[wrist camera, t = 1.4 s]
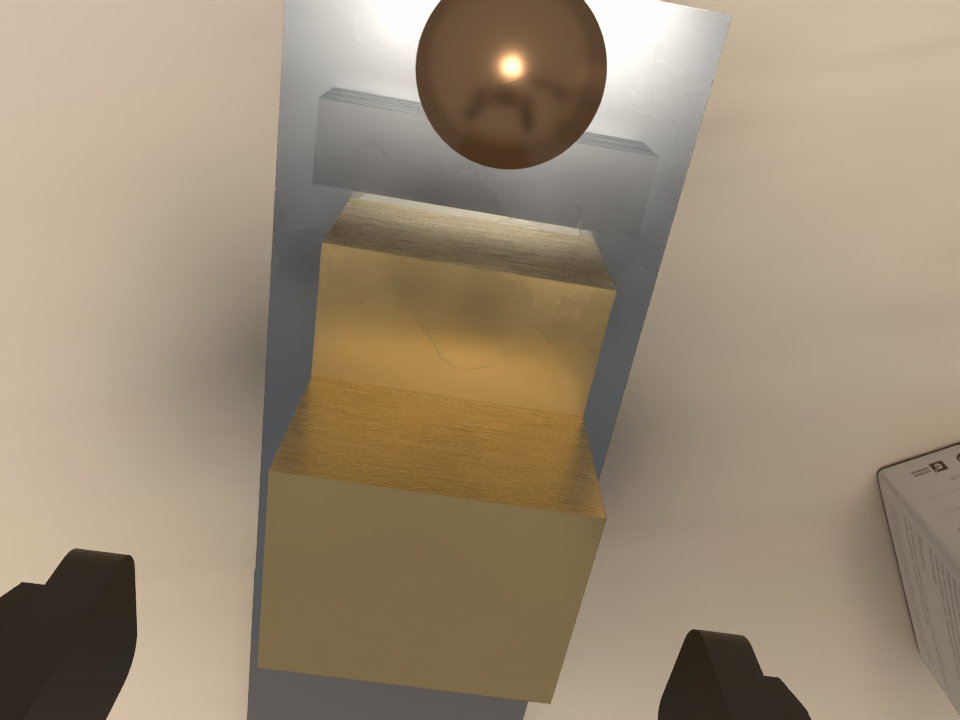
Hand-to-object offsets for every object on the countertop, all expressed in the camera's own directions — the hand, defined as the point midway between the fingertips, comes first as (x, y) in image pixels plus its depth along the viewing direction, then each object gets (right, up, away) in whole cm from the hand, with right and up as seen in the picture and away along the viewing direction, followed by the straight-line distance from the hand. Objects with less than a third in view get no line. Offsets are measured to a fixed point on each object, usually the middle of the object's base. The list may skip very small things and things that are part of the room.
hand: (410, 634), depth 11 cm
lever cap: (0, +3, +6) cm, 7 cm away
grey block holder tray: (0, +6, +11) cm, 12 cm away
